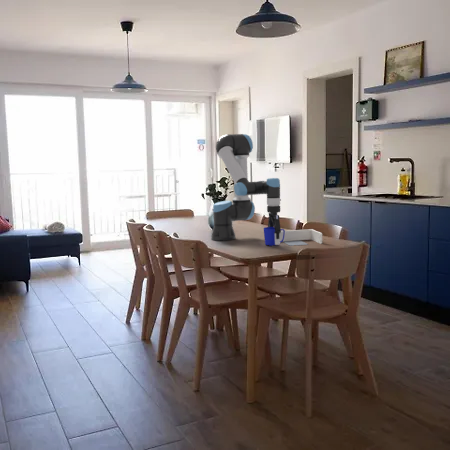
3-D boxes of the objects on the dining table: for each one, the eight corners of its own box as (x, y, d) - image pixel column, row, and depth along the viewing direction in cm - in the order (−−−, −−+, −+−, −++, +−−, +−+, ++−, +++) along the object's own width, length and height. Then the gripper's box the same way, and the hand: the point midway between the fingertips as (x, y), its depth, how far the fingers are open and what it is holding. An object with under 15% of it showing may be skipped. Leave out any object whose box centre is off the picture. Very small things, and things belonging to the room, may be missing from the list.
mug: (284, 246, 298) (284, 228, 297) (263, 246, 301) (262, 229, 299) (285, 243, 306) (285, 226, 305) (264, 243, 309) (264, 226, 307)
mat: (289, 245, 299) (289, 245, 299) (282, 241, 314) (282, 241, 314) (308, 244, 301) (308, 244, 301) (300, 240, 316) (300, 240, 316)
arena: (280, 246, 299) (279, 235, 299) (272, 241, 316) (271, 231, 315) (322, 243, 304) (322, 233, 303) (312, 238, 320) (312, 229, 320)
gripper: (286, 207, 289) (286, 245, 292) (274, 203, 313) (275, 239, 316) (272, 207, 288) (273, 246, 291) (262, 203, 312) (262, 239, 315)
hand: (274, 242), depth 303 cm, fingers open, 12 cm apart
